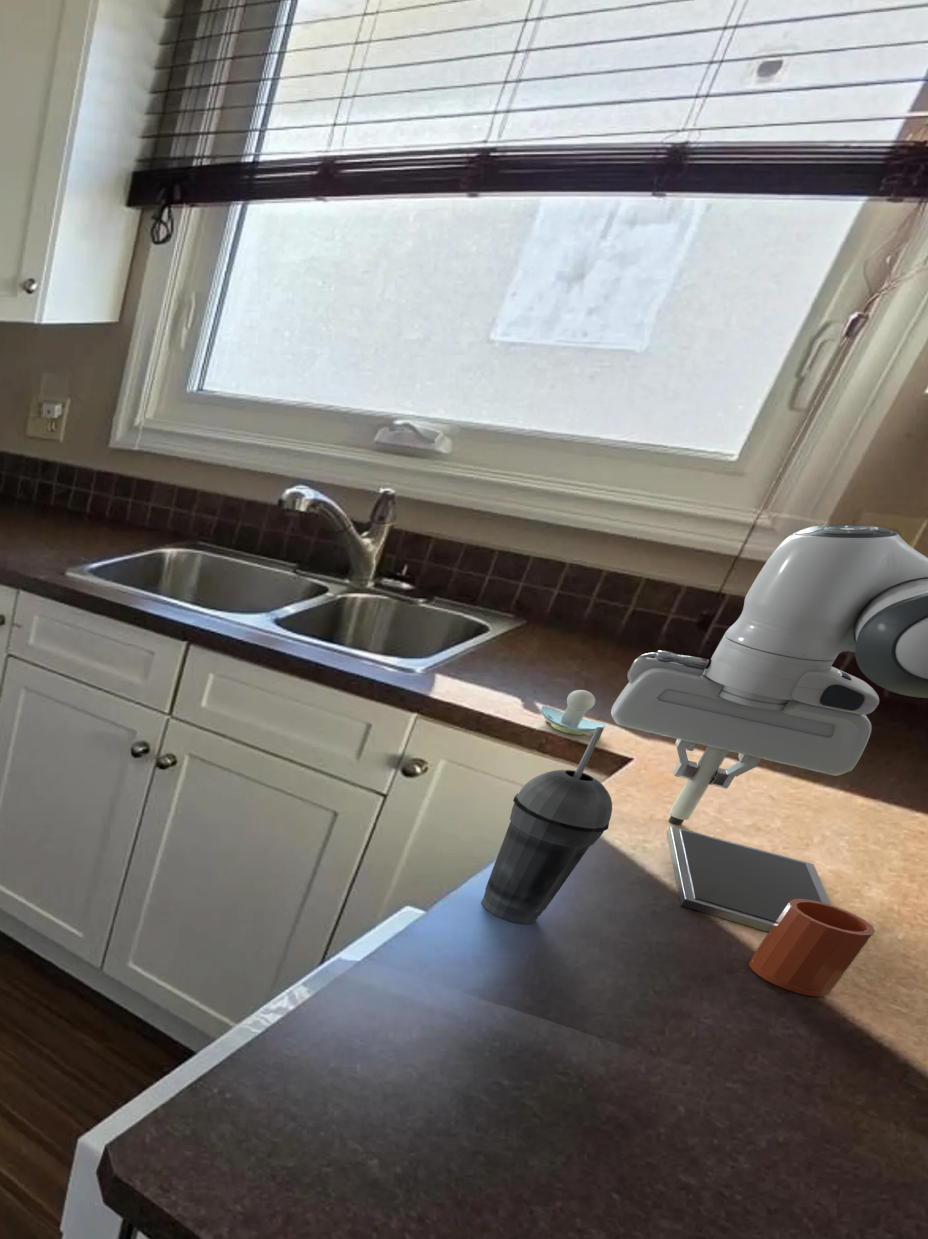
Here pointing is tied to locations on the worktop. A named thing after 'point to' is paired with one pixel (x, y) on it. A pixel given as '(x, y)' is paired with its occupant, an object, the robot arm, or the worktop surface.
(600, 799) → the beverage cup
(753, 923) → the tablet
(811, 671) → the robot arm
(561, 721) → the pacifier
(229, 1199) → the worktop surface
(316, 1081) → the worktop surface
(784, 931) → the pen pot
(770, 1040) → the worktop surface
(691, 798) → the stylus
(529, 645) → the worktop surface
